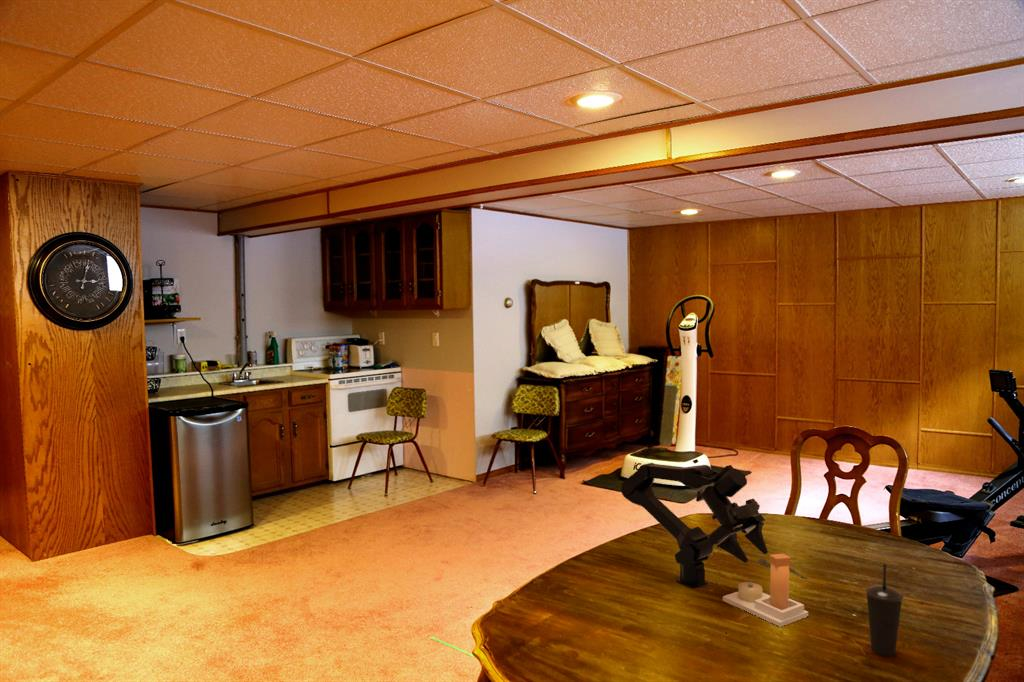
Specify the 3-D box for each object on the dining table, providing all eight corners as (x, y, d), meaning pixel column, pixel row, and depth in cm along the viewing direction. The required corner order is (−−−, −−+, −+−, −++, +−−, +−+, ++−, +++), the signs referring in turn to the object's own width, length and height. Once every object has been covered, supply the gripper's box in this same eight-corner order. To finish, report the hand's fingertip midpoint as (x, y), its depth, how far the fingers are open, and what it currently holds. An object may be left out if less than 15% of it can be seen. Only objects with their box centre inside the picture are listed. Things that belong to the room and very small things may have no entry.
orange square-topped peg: (766, 607, 179) (767, 553, 179) (782, 605, 180) (783, 552, 179) (775, 614, 175) (777, 560, 174) (791, 613, 176) (793, 558, 175)
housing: (722, 600, 186) (722, 581, 186) (750, 591, 192) (750, 573, 192) (779, 627, 171) (780, 606, 171) (808, 616, 177) (808, 596, 176)
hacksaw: (756, 562, 214) (756, 557, 214) (785, 559, 217) (785, 554, 217) (807, 594, 191) (807, 589, 191) (839, 590, 194) (839, 585, 193)
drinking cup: (857, 643, 163) (858, 559, 161) (888, 641, 163) (890, 558, 162) (877, 660, 155) (879, 572, 154) (909, 658, 156) (911, 570, 154)
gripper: (719, 496, 179) (757, 550, 171) (759, 484, 191) (796, 534, 183) (693, 519, 186) (728, 572, 178) (733, 505, 197) (768, 555, 190)
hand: (756, 557), depth 182 cm, fingers open, 9 cm apart
